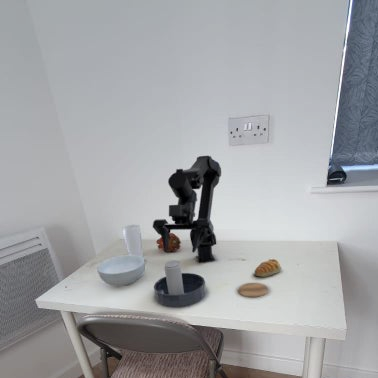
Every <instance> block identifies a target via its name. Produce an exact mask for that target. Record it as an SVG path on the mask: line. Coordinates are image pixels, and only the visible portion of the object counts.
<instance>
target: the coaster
mask: <svg viewBox="0 0 378 378" xmlns="http://www.w3.org/2000/svg"><path fill="white" fill-rule="evenodd" d="M268 288H269V287H267V285H265V284H263V283H258V282H248V283H245V284H242V285H241V286H239V287H238V293H239V295H241V296H243V297H247V298H259V297H262V296H265V295H266V294H268V292H269V291H268V290H269V289H268Z"/></svg>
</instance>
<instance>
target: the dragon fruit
mask: <svg viewBox="0 0 378 378" xmlns="http://www.w3.org/2000/svg"><path fill="white" fill-rule="evenodd" d="M169 235H170V240H169V245H168V250H167V252H166V253H168V252H169V251H170V252H171V253H173V252H175V251H176V250H179V249H180V248H181V243H182V241H181V240H180V237H178V235H176V234H175V233H173V232H170V233H169ZM156 244H157V248H158V249H159V250H164V246H163V241H162V237H160V238H158V239H156Z"/></svg>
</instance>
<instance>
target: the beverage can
mask: <svg viewBox="0 0 378 378" xmlns="http://www.w3.org/2000/svg"><path fill="white" fill-rule="evenodd" d="M163 267H164V273H165V276H166V280H167V286H168V292H169V295H181V294H184V289H183V282H182V274H181V273H182V265H181V263H180V261H179V260H169V261H167V262H165V263H164V265H163Z"/></svg>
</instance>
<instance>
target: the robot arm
mask: <svg viewBox="0 0 378 378" xmlns="http://www.w3.org/2000/svg"><path fill="white" fill-rule="evenodd" d="M221 177H222V168H221V165H220V163H219V162H218V161H216V160H214V159H213V158H212V156H211V155H200V156H197V157H196V160H195V162H193V164H192V165H191V167H190V168H187V169H183V168H176V170H175V172H173V173H172V174H171V175H170V176H169V178H168V181H167V183H168V186H169V188H170V189H171V191H172V193H173V194H174V196H175V197H176V198H177V204H169V205H168V217H171V221H172V222H173V223H172V222H171V223H169V222H168V221H167V219H165V218H161V219H159V218H158V219H154V221H153V222H152V228H153V229H154V230H155V232H156V233H157V235H159V236H161V237H162V241H163V246H164V249H163V251H164V252H165V253H168V252H167V250H168V245H169V240H170V235H169V233H171V231H181V230H182V231H183V230H185V231H186V230H190V232H189V239H190V242H191V246H192V249H191V252H192V253H195V252H196V251H197V255H196V256H195V258H196V260H197V262H198V263H206V262H213V261H215V260H216V259H215V256H214V255H213V247H214V246H216V245H217V236H216V233H215V232H214V225H213V223H212V220H211V215H212V214H211V213H212V207H213V198H214V191H215V188H216V187H217V185H218V184H219V182H220V178H221ZM200 189H201V191H200V199H199V206H198V214H197V219H196V220H194V219H195V217H196V212H195V210H196V203H197V202H198V193H197V192H196V190H200ZM161 237H160V238H161Z"/></svg>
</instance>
